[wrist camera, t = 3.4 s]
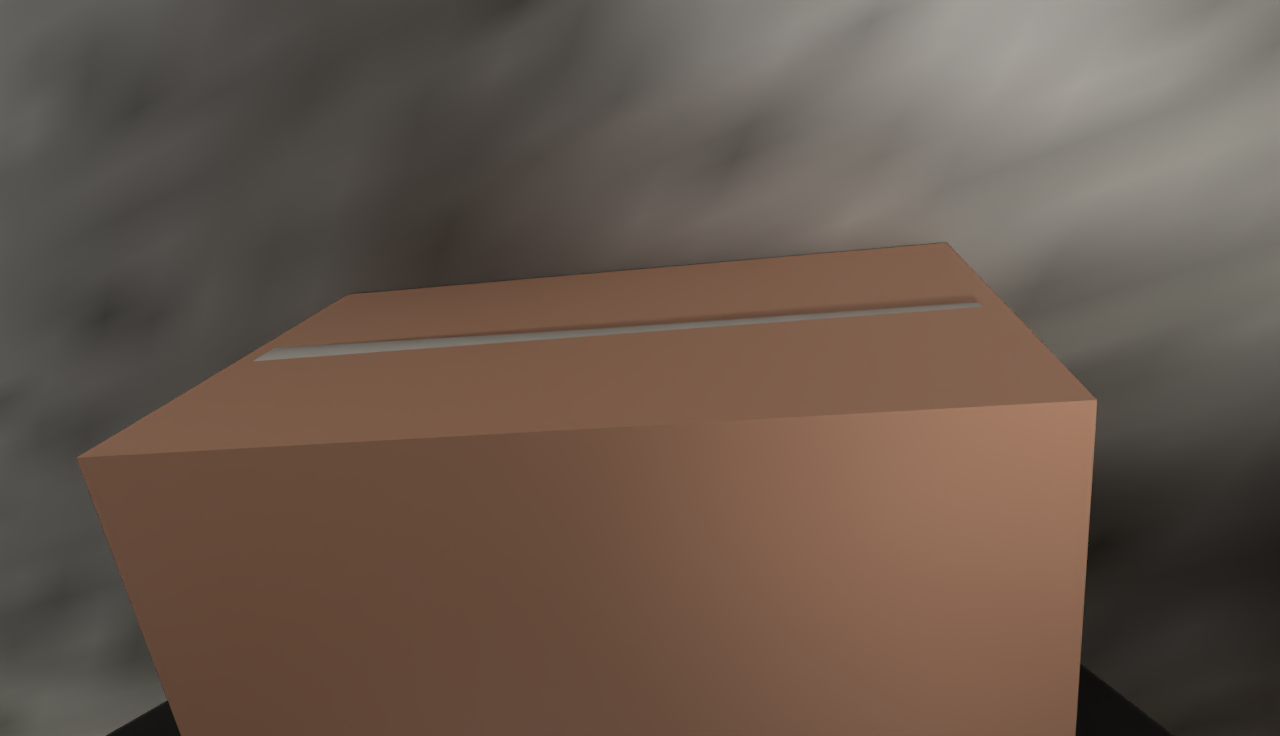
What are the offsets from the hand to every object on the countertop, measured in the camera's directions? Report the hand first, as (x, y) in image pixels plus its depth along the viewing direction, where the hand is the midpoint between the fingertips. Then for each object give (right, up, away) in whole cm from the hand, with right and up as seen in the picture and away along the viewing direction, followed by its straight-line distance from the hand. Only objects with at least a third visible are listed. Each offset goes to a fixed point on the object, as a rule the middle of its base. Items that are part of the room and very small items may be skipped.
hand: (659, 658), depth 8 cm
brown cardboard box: (0, 0, +1) cm, 1 cm away
